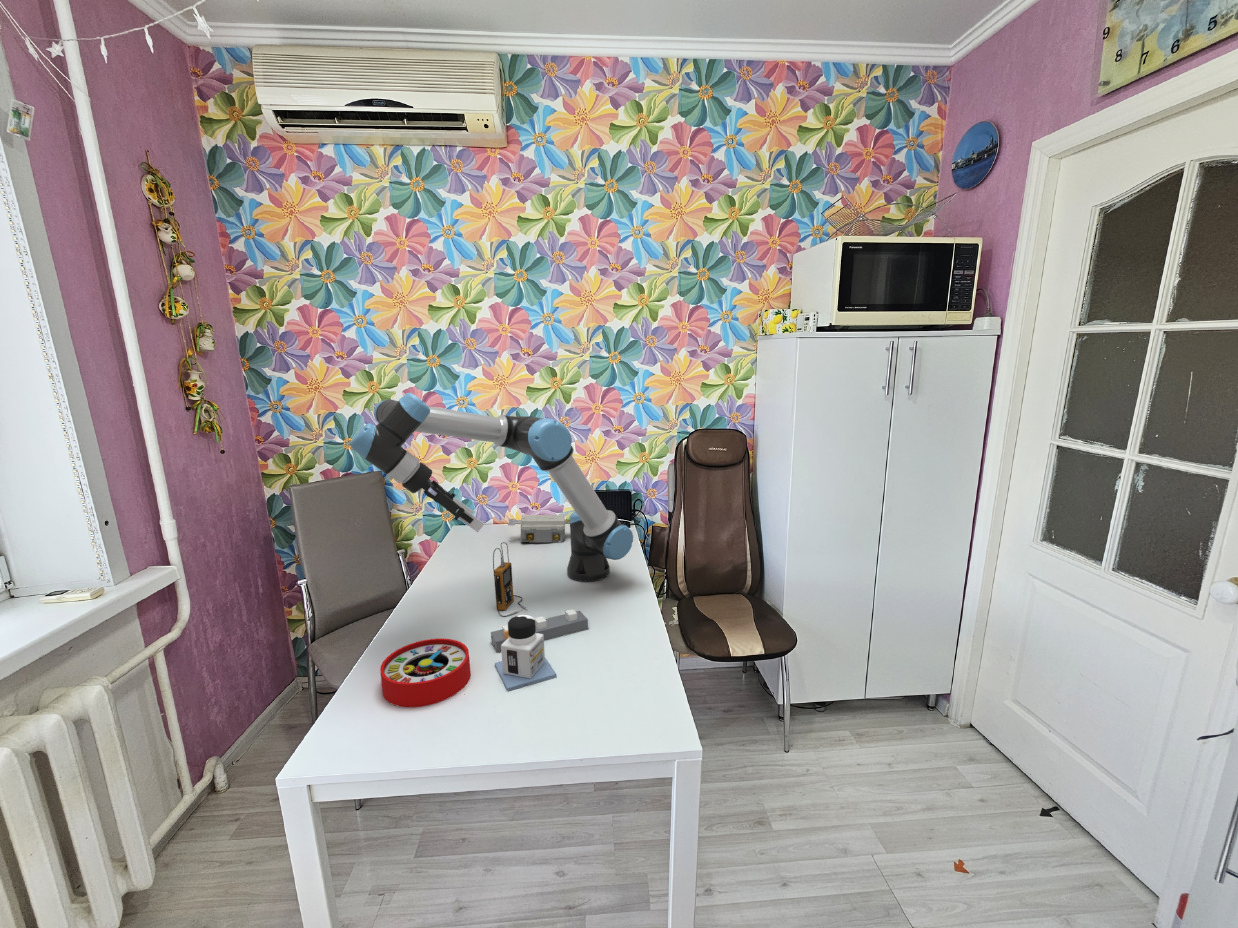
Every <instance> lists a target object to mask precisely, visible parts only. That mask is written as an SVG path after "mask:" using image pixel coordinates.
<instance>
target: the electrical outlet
mask: <svg viewBox="0 0 1238 928" xmlns="http://www.w3.org/2000/svg"><path fill="white" fill-rule="evenodd" d="M507 525H508V526H516V525H520V543H521V542H529V543H558V542H557V541H561V542H560V543H564V542H565V541H566V540H565V538H566V537H565V536H566V525H570V518H569V519H567V518H565V515H562V514H557V515H555V514H545V515H544V514H542V515H541V514H539V515H538V514H535V515H534V514H529V515H528V514H527V515H526V514H522V515H521V519H516V518H509V519H508V522H507Z"/></svg>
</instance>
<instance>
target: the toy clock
mask: <svg viewBox="0 0 1238 928" xmlns="http://www.w3.org/2000/svg"><path fill="white" fill-rule="evenodd" d="M379 673H380V681H381V691H382V695H383V698H384V699H385V700H386V702H387V703H390V704H392V705H394V706H398V707H402V708H418V707H419V708H420V707H427V706H431V705H434V704H438V703H441V702H443V701H446V700H448V699H450V698H451V697H454V696H455V695H457V694H458V693H460V692H461V691H462V690H463V689H464V688H465V687H466V686H467V685H468V683H469V682H470V680H471V675H472V673H471V663H470V652H469V648H468V647H467V645H466V644H464V643H463V642H462V641H458V640H457V639H452V638H441V637H440V638H430V639H423V640H419V641H416V642H411V643H409V644H406V645H404V646H401V647H400V648H397V649H396V650H395V651H393V652H391V653H390V654H389V655H388V656H386V658H385V659H384V660H383V661H382V663H381V665H380V669H379Z"/></svg>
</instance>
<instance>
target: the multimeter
mask: <svg viewBox="0 0 1238 928" xmlns="http://www.w3.org/2000/svg"><path fill="white" fill-rule="evenodd" d="M503 544H505V545H506V548H507V552H506V554H507V555H509V547H508V546H509V545H508V543H507V542H504V541H503V542H501V543H500V548H499V547H497V548H495V549H494V550H493V553H492V569H493V579H494V591H495V603H496V606H495V607H496V610H497V613H498V614H499V616H500V617H503V618H505V617H509V616H512V615H515V614H518V613H519V612H522V611H523V609H524V610H526V611H528V609H527V607H525V606H524V605H523V604H521V603H522V601H523V597H521V596H519V595H514V585H513V584H514V582H513V568H512V562H510V559H509V556H507V561H508V562H506V561H504V550H503V546H502V545H503ZM496 550H499V552H500V565H498V566H497V567H496V568H495V553H496ZM514 597H516V598H517V597H518V598H521V600H520V601H518V602H517V604H518V605H519V606H521V608H522V609H521V610H516V611H514V612H511V613H509V614H507V615H502V614H501V612H500V611H506V610H507V609H508V607H509V606H510V605H511V604H512V603H513V602H514Z"/></svg>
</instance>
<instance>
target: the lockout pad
mask: <svg viewBox="0 0 1238 928" xmlns="http://www.w3.org/2000/svg"><path fill="white" fill-rule="evenodd" d="M494 667H495V669H496V672H497V673H498V676H499V677H500V680H501V682H502V684H503V686H504V687H505V690H506V691H507V692H510V691H513V690H517V689H521V688H523V687H527V686H530V685H534V684H537V683H542V682H545V681H548V680H551V679H555V678H557V676H558V675H557V673H556V671H555V669H554V668H553V667H552V665H551V664H550V662H549V661H548V660H547V658H546V657H545V662H544V664H543V665H542V666H541V667H540V668H539V670H538V671H537V672H536V673H535V674H534V675H533V677H532V678H525V677H519V676H514V675H508V674H504V673H503V667H502V660H501V661H498V662H494Z"/></svg>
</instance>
